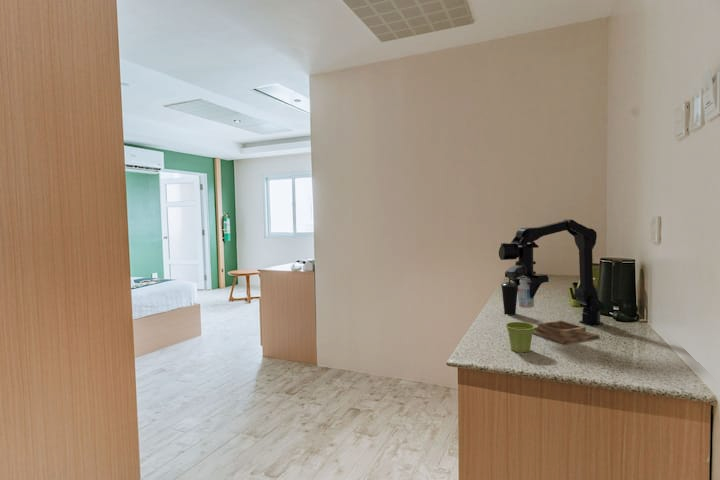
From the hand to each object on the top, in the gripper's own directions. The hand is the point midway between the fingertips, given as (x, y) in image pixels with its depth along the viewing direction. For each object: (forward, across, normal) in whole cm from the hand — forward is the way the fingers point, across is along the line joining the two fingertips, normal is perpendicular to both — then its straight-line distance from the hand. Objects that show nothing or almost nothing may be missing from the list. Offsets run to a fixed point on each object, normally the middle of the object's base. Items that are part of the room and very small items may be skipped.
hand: (525, 296), depth 170 cm
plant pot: (+13, +21, -22) cm, 33 cm away
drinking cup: (+13, -20, +9) cm, 25 cm away
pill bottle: (+4, 0, 0) cm, 4 cm away
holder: (+12, +14, +4) cm, 19 cm away
